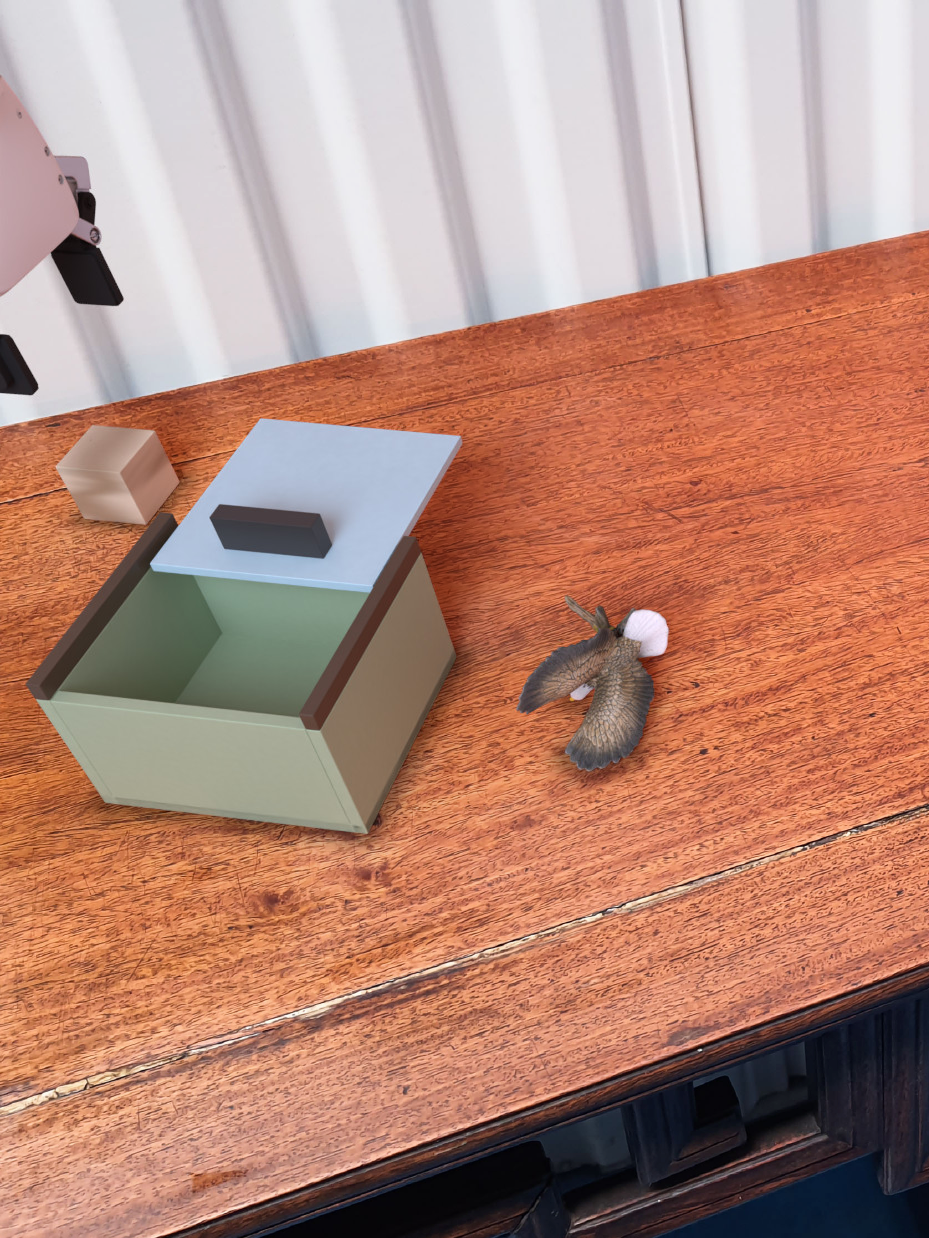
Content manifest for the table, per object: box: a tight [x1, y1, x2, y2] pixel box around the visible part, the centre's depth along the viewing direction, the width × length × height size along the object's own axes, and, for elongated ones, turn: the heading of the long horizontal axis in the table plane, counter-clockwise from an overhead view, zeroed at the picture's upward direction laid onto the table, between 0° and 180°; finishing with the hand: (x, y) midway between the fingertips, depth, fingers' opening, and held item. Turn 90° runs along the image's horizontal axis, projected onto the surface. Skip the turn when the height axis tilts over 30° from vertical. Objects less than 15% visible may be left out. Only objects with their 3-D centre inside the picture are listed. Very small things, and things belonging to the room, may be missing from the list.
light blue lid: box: [150, 417, 464, 593], centre depth 82 cm, size 13×14×3 cm
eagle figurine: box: [515, 595, 670, 773], centre depth 81 cm, size 8×7×9 cm
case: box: [25, 511, 457, 835], centre depth 79 cm, size 16×14×10 cm
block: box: [54, 424, 181, 526], centre depth 95 cm, size 5×5×5 cm
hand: (59, 345), depth 88 cm, fingers open, 9 cm apart
